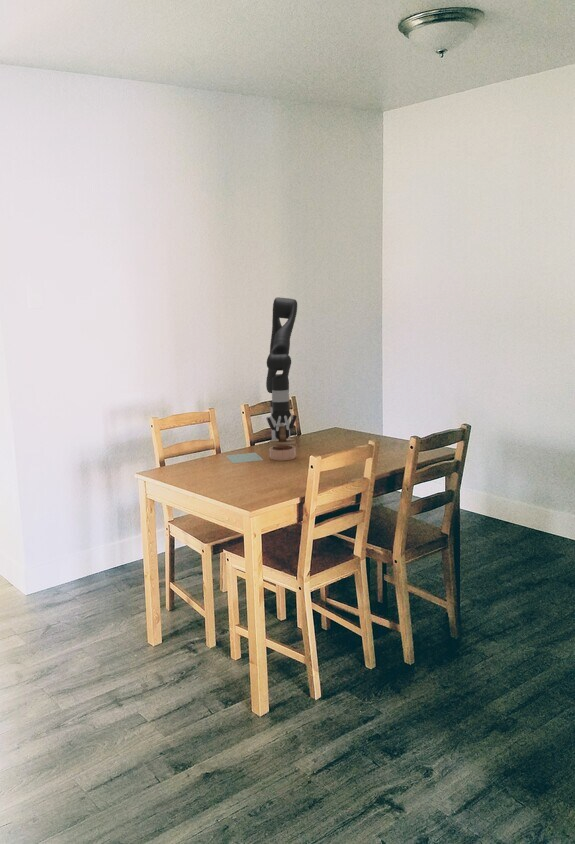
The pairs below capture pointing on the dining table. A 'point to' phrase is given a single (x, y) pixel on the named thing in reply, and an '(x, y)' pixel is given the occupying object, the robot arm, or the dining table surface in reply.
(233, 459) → the mat
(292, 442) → the lid
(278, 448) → the bowl
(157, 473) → the dining table surface
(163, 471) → the dining table surface
